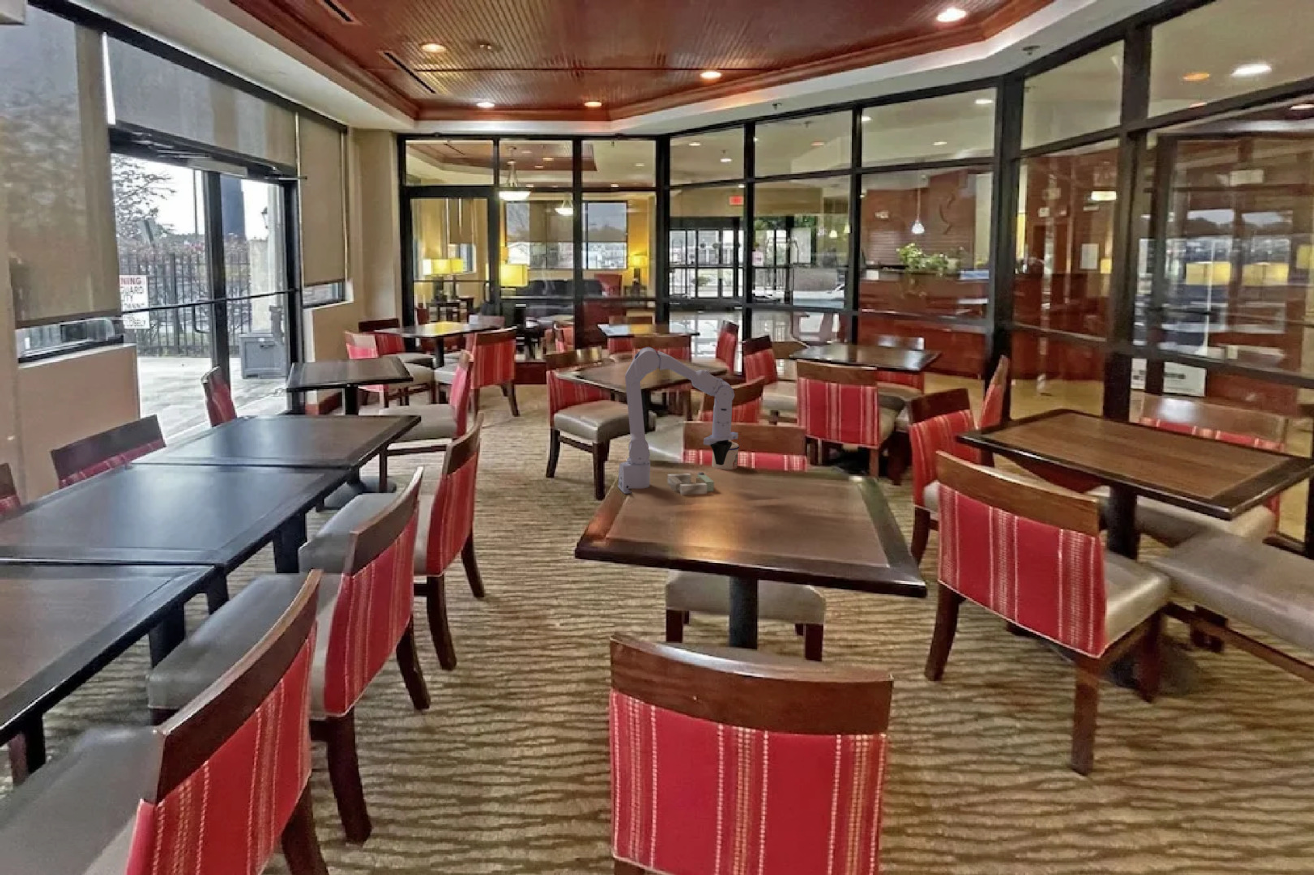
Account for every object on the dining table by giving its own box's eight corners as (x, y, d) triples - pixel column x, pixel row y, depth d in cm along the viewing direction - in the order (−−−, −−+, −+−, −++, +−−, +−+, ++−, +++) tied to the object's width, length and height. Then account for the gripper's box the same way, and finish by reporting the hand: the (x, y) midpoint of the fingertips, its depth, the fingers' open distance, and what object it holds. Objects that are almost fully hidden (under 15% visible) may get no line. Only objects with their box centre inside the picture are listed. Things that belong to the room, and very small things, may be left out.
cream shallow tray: (678, 499, 271) (679, 486, 270) (664, 487, 284) (664, 474, 283) (722, 497, 275) (722, 483, 274) (706, 484, 288) (706, 472, 287)
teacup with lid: (738, 474, 302) (740, 440, 299) (711, 473, 302) (713, 439, 299) (736, 465, 313) (738, 432, 311) (710, 464, 313) (711, 431, 311)
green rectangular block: (706, 491, 275) (706, 480, 274) (696, 482, 284) (696, 472, 284) (713, 491, 276) (713, 480, 275) (703, 482, 285) (703, 472, 284)
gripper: (717, 426, 269) (714, 470, 272) (746, 420, 279) (744, 463, 282) (699, 422, 273) (697, 466, 276) (728, 417, 284) (726, 458, 287)
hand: (719, 464), depth 279 cm, fingers closed
